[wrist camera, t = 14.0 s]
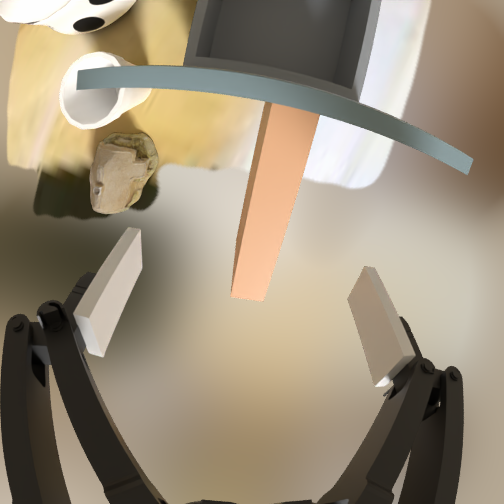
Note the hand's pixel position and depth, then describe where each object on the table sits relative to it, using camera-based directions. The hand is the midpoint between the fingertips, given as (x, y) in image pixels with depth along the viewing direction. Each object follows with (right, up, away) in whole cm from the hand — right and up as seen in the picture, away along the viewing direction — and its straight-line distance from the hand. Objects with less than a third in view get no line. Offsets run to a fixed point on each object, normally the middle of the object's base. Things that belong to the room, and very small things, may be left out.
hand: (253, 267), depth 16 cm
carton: (+4, +33, +13) cm, 36 cm away
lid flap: (+2, +13, +2) cm, 14 cm away
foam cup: (-18, +26, +18) cm, 36 cm away
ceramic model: (-21, +15, +26) cm, 36 cm away
